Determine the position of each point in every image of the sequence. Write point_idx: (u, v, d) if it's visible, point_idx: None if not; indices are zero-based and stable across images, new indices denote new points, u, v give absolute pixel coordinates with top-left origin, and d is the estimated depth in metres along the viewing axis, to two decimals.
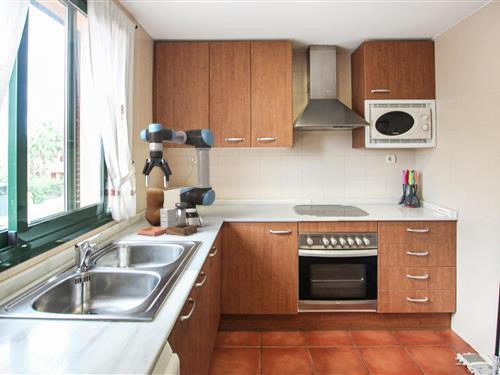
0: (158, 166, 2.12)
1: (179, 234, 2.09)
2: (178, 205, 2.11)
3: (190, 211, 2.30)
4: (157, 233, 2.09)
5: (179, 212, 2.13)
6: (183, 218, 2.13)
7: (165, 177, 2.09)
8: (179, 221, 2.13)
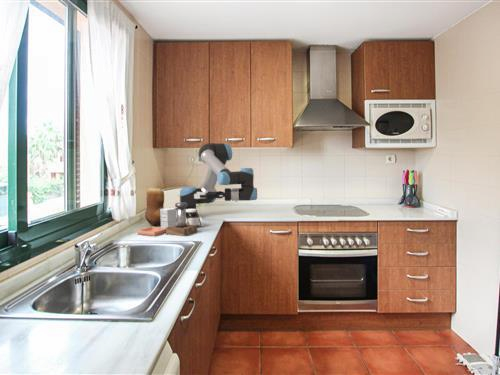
0: None
1: (179, 234, 2.09)
2: (178, 205, 2.11)
3: (190, 211, 2.30)
4: (157, 233, 2.09)
5: (179, 212, 2.13)
6: (183, 218, 2.13)
7: None
8: (179, 221, 2.13)
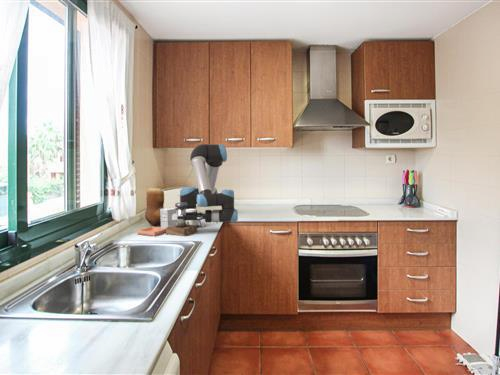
0: None
1: (179, 234, 2.09)
2: (178, 205, 2.11)
3: (190, 211, 2.30)
4: (157, 233, 2.09)
5: (179, 212, 2.13)
6: None
7: None
8: (179, 221, 2.13)
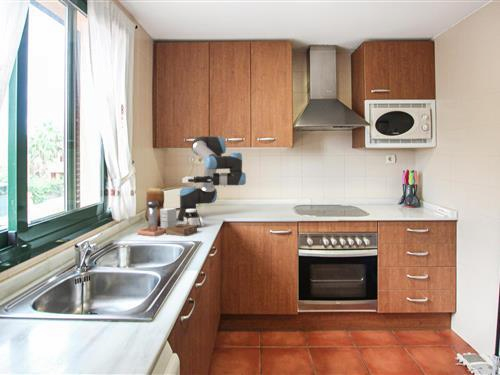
0: None
1: (179, 234, 2.09)
2: (149, 204, 2.11)
3: (190, 211, 2.30)
4: (157, 233, 2.09)
5: (150, 211, 2.12)
6: (154, 217, 2.13)
7: None
8: (150, 220, 2.12)
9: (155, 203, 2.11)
